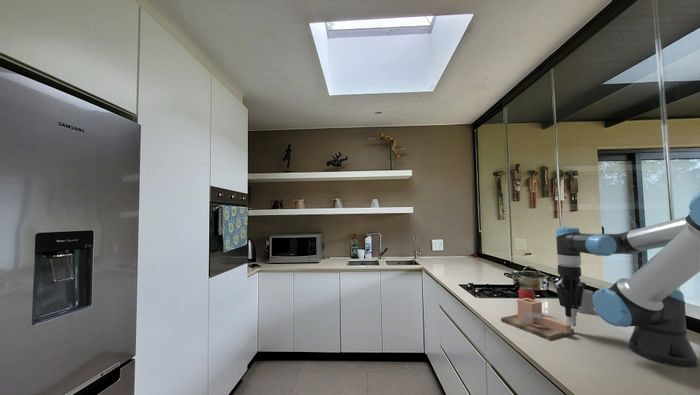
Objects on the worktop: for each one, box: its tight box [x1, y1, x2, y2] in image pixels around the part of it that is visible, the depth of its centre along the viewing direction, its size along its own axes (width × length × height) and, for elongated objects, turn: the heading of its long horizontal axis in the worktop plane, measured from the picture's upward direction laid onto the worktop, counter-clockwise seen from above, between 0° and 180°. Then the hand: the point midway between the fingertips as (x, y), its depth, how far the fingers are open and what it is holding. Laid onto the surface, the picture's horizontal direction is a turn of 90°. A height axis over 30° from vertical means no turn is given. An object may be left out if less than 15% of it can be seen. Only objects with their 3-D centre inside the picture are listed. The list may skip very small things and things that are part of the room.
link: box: [516, 298, 572, 334], centre depth 114 cm, size 18×6×8 cm, turn 24°
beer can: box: [518, 285, 536, 300], centre depth 132 cm, size 7×7×12 cm
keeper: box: [524, 311, 543, 326], centre depth 112 cm, size 3×5×7 cm, turn 68°
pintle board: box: [500, 313, 575, 341], centre depth 115 cm, size 20×16×8 cm
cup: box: [576, 288, 595, 315], centre depth 135 cm, size 8×8×10 cm
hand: (571, 324), depth 110 cm, fingers closed
